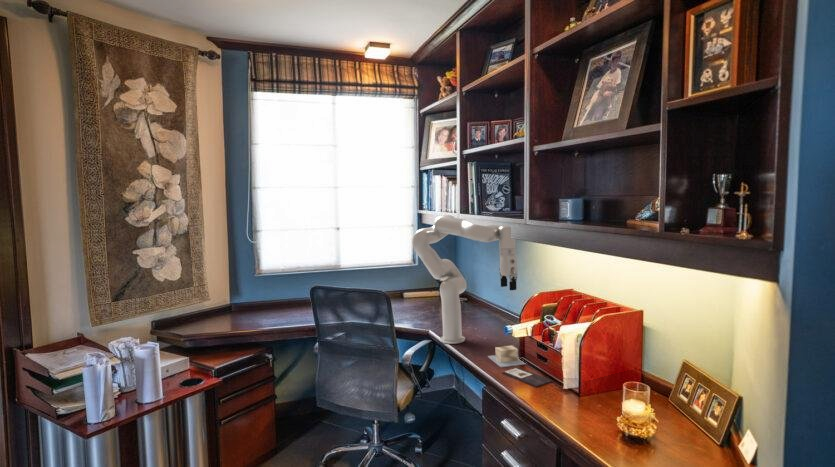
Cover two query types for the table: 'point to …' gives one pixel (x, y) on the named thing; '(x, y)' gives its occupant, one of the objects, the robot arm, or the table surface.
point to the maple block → (506, 353)
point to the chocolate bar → (527, 377)
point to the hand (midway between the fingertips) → (508, 288)
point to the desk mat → (506, 364)
